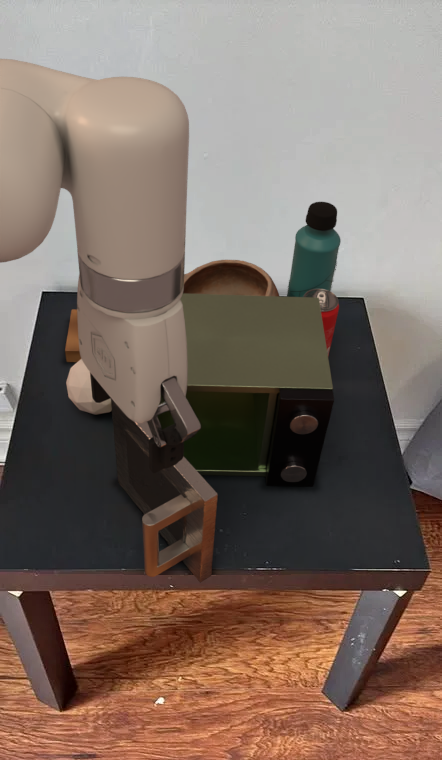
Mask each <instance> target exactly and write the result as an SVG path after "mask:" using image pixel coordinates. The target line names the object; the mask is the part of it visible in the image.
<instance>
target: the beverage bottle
mask: <svg viewBox="0 0 442 760" xmlns="http://www.w3.org/2000/svg"><path fill="white" fill-rule="evenodd" d="M337 221H338V209H337V207H336V206H335V205H334V204H332V203H331V202H327V201H315V202H313V203H311V204H310V205H309V206H308V209H307V213H306V215H305V224H306V225H304V226H301V228H299V229H298V230H297V231H296V233H295V237H294V238H295V240H294V247H293V248H294V249H293V254H292V260H291V269H290V274H289V279H288V286H287V287H286V288H287V289H286V290H287V291H286V293H287V294H286V297H303V296H304V294H305V293H306V292H307V291H309V290H312V289H325V290H328V291H330V292H332V288H333V282H334V277H335V272H336V271H337V267H338V266H337V265H338V256H339V249H340V246H341V241H342V239H341V236H340V234H339V233H338V232H337V231H336V230H335V229H334V228H336V226H337Z"/></svg>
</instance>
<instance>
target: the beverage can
mask: <svg viewBox="0 0 442 760" xmlns="http://www.w3.org/2000/svg"><path fill="white" fill-rule="evenodd" d="M303 297H313V298H319V302H320V309H321V315H322V322H323V328H324V334H325V341H326V347H327V353H328V357H329V356H330V351H331V347H332V343H333V337H334V333H335V329H336V328H335V327H336V324H337V319H338V314H339V310H340V304H339V299H338V297H337V295H336V294H335V293H334V292H332V291H331V292H330V291H328V290H325V289H312V290H309V291H307V292H306V293H305V294H304V296H303Z"/></svg>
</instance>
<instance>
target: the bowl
mask: <svg viewBox="0 0 442 760" xmlns="http://www.w3.org/2000/svg"><path fill="white" fill-rule="evenodd" d="M183 293H184V294H216V295H249V296H280V293H279V290H278V287H277V286H276V283H275V281H274V280H273V278H272V277H271V276H270V274H269V273H268V272H266V271H265V270H264V268H261V267H260V266H259V265H257V264H254V263H251V262H249V261H245V260H240V259H219V260H213V261H212V260H211V261H209V262H207V263H205V264H204V263H203V264H202V265H199V266H197V267H196V268H194V269H193V270H191V271H189V272H188V273H184V291H183Z"/></svg>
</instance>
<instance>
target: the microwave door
mask: <svg viewBox="0 0 442 760" xmlns="http://www.w3.org/2000/svg"><path fill="white" fill-rule="evenodd" d="M111 407H112V410H111V416H112V427H113V428H112V429H113V439H114V449H115V451H114V452H115V461H116V462H115V463H116V471H117V483H118V484H119V485H120V487H121V488H122V490H123V491H125V493H126V494H127V496H128V497H129V498H130V499H131V500H132V501H133V503H134V504H135V505H136V506H137V508H138V509H139V510H140V512H142V513H143V516H142V517H141V526H142V544H143V545H142V546H143V547H142V548H143V565H144V573H145V575H146V576H147V577H150V578H154V577H156V576H158V575H160V574H162V573H164V572H165V571H167V570H169V569H170V568H172V567H174V566H176V565H177V564H179V563H180V562H183V564H184V565H185V566H186V567H187V569H188V570H189V571H190V572H191V573H192V575H193V576H194V577H195V579H197V581H198V582H199V583H202V582H204V581H206V580H207V579H209V578H210V577H212V569H213V557H214V546H215V533H216V532H215V531H216V521H217V509H218V508H217V507H218V498H219V497H218V496H219V494H218V492H216V490H215V489H214V488H213V486H211V484H210V483H208V481H207V480H206V479H205V477H203V475H200V474H199V473H198V472H197V470H196V469H195V468H194V467H193V466H192V465H191V464H190V463H189V462H188V461H187V459H186V458H185V457H184V456H183V459H182V460H181V461H179V462H178V463H177V464H176V465H174V466H172V467H170V468H165V469H163V470H161V471H158V472H156V473H152V471H151V470H150V469H149V440H150V438H152V437H153V436H152V433H151V431H150V428H149V425H148V423H147V422H144V423H142V424H139V423H136V422H134V421H132V420H131V419H130V418H128V417H127V416H126V415H125V414H124V412H123V411H122V410H121V409H120V408H119V407H118V405H117V404H116V403H115V402H114V401H113V400H112V398H111ZM159 535H160V536H161V537H162V539H164V540H165V542H166V543H167V544H168V546H166V547H165V548H163V549H161V550H160V545H159Z"/></svg>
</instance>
